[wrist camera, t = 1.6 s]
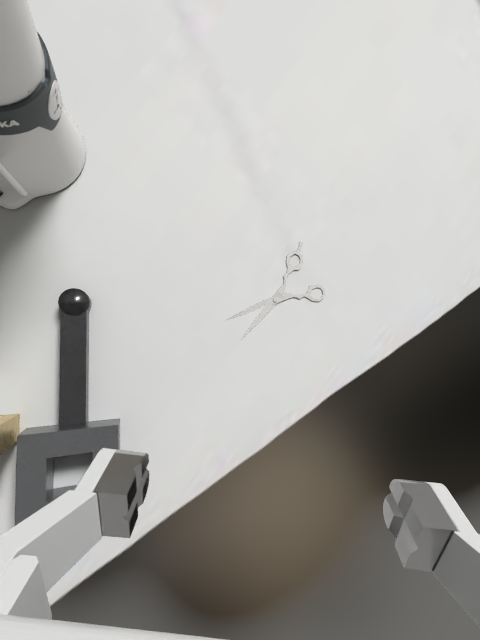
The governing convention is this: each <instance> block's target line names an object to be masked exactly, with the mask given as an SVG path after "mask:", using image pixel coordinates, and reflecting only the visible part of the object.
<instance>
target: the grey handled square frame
mask: <svg viewBox="0 0 480 640" xmlns="http://www.w3.org/2000/svg"><path fill="white" fill-rule="evenodd" d="M58 304H59V307H60V309H61V339H60V410H59V425H52V426H43V427H33V428H27V429H25V430H24V431H23V432H21V433H20V434H19V435H17V461H16V502H15V526H16V525H17V524H19V523H20V522H22V521H23V520H25V519H26V518H28V517H29V516H31V515H32V514H34V513H35V512H37V511H38V510H40V509H41V508H43V507H45V506H46V505H48V504H49V503H51V502H52V501H54V500H55V499H57V498H58V497H60V496H61V495H63V494H64V493H66V492H67V491H69V490H75V488H76V487H77V485H74V486H68V487H62V488H56V489H53V470H54V457H60V456H67V455H75V454H82V453H90V452H93V460H94V458H95V457H96V455H97V453H98V452H99V451H100V450H101V449H102V448H108V449H116V450H120V419H111V420H101V421H91V422H88V364H89V310H90V308H91V300H90V298H89V297H88V295H87V294H86V293H85V292H83V291H82V290H80V289H74V288H73V289H68V290H66V291H64V292H63V293H62V294H61V295H60V297H59V301H58Z"/></svg>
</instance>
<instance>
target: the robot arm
mask: <svg viewBox="0 0 480 640" xmlns="http://www.w3.org/2000/svg"><path fill="white" fill-rule="evenodd" d="M85 158H86V148H85V142H84V139H83V136H82V133H81V131H80V130H79V128H78V126H77V125H76V123H75V122H74V121H73V119H72V118H71V116H70V115H69V113H68V112H67V110H66V108H65V107H64V105H63V103H62V99H61V93H60V88H59V85H58V82H57V79H56V75H55V72H54V69H53V66H52V63H51V60H50V57H49V54H48V51H47V48H46V46H45V44H44V42H43V40H42V38H41V36H40V35H39V33H38V32H37V30H36V27H35V24H34V21H33V18H32V14H31V11H30V8H29V5H28V2H27V0H0V193H3V195H2V196H0V206H2V207H5V208H7V209H17V208H19V207H21V206H23V205H24V204H26V203H27V202H29V201H30V200H31V199H33V198H35V197H39V196H43V195H47V194H51V193H55V192H57V191H60V190H62V189H64V188H65V187H67V186H68V185H70V184H71V183H72V182H73V181H74V180H75V179H76V178H77V177H78V176H79V174H80V172H81V171H82V168H83V166H84V163H85ZM148 463H149V458H148V454H147V453H140V452H133V451H125V450H116V449H108V448H102V449H101V450H100V451H99V452H98V453H97V455H96V457H95V458H94V460H93V461H92V463H91V464H90V466H89V468H88V469H87V471H86V472H85V474H84V475H83V477H82V479H81V480H80V482H79V483H78V485H77V487H76V488H75V490H69V491H67V492H66V493H64V494H63V495H61V496H60V497H58V498H57V499H55V500H54V501H52V502H51V503H49V504H48V505H46V506H45V507H43V508H41V509H40V510H38V511H37V512H35V513H34V514H32V515H31V516H29V517H28V518H26V519H25V520H23V521H22V522H20V523H19V524H17V525H16V526H14V527H13V528H11V529H10V530H8V531H7V532H5V533H4V534H2V535H1V536H0V640H226V639H217V638H208V637H199V636H190V635H181V634H173V633H164V632H155V631H146V630H138V629H128V628H120V627H111V626H102V625H93V624H84V623H76V622H67V621H58V620H51V618H52V615H51V610H50V606H49V602H48V598H47V594H46V592H47V591H48V590H49V589H51V588H52V587H53V586H54V585H55V584H56V583H57V582H58V581H59V580H60V579H61V578H62V577H63V576H64V575H65V574H66V573H67V572H68V571H69V570H70V569H71V568H72V567H73V566H74V565H75V564H76V563H77V562H78V561H79V560H80V559H81V558H82V557H83V556H84V555H85V554H86V553H87V552H88V551H89V550H90V549H91V548H92V547H93V546H94V545H95V544H96V543H97V542H98V541H99V540H100V539H101V538H102V536H111V537H124V538H130V536H131V534H132V531H133V529H134V526H135V523H136V521H137V518H138V507H139V506H140V505H141V504H143V502H144V499H145V496H146V493H147V489H148V484H149V471H148V470H147V469H146V468H147V465H148ZM390 490H391V492H392V493H391V494H389V495H388V496H387V497H386V498H385V501H384V504H383V513H384V518H385V522H386V525H387V527H388V529H389V531H391V533H392V534H393V535H394V536H395V537H396V541H395V544H394V545H395V547H396V550H397V552H398V554H399V557H400V559H401V562H402V564H403V567H404V568H409V569H415V570H423V571H430V572H433V574H434V576H435V577H436V578H437V579H438V580H439V582H440V583H441V584H442V585H443V586H444V587H445V588H446V589H447V591H448V592H449V593H450V594H451V595H452V596H453V598H454V599H455V600H456V601H457V602H458V603H459V604H460V606H461V607H462V608H463V609H464V610H465V611H466V613H467V614H468V615H469V616H470V617H471V618H472V619H473V620H474V622H475V623H476V624H477V625H478V626H479V627H480V534H477V533H476V531H475V530H474V528H473V527H472V525H471V524H470V522H469V521H468V519H467V518H466V516H465V515H464V513H463V512H462V510H461V509H460V507H459V506H458V504H457V503H456V502H455V500H454V498H453V497H452V495H451V494H450V492H449V491H448V489H447V488H446V487H445V486H444V485H443V484H440V483H430V482H429V483H428V482H421V481H410V480H399V479H394V480H393V481H392V482H391V484H390Z"/></svg>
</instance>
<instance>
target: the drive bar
mask: <svg viewBox="0 0 480 640" xmlns="http://www.w3.org/2000/svg"><path fill="white" fill-rule="evenodd" d="M19 420H20V414H10V415H0V454H1V453H3V452H4V451H5V450H6V449H8V448H9V447H10V446H11V445H13V444H14V443H15V442H17V435H19Z"/></svg>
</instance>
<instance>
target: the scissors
mask: <svg viewBox="0 0 480 640" xmlns="http://www.w3.org/2000/svg"><path fill="white" fill-rule="evenodd" d="M302 245H303V242H300V243H299V247H298V249H297V251H293V252H291V253H289V254H288V255H287V257H286V266H287V273H286V274H285V275H284V276H283V278H284V281H283V285H282V286H281V287H280V288H279V289H278V291H277V292H276V293H275V294H274V295H273V296H272V297H271V298H268V299H266V300H264V301H262V302H260V303H257V304H255V305H253V306H251V307H249V308H247V309H246V310H244V311H242V312H240V313H238V314H236V315H234V316H232V317H230V318H229V319H231V318H234V317H237V316H241V315H244V314H247V313H249V312H252V311H254V310H257V309H259V308H261V307H263V306H264V305H266V306H265V307H264V308H263V310H262V311H261V312H260V314H259V315H258V316H257V318H256V319H255V321H254V322H253V323H252V325H251V326H250V328H249V329H248V330H247V332H246V333H245V335H246V334H247V333H248V332H249V331H250V330H251V329H252V328H253V327H254V326H256V325H257V324H258V323H259V322H260V321H261V320H262V319H263V318H264V317H265V316H266V315H267V314H268V312H269V311H270V310H271V309H272V308H273V307H274V306H275V305H276V304H277V303H279V302H281V301H284V300H286V299H289V298H292V297H296V298H298V299H300V298H302V297H306V298H308V299H309V300H311V301H315V302H317V301H321V300H322V299H323V298H324V296H325V289H324V288H323V287H322V286H320V285H312V286H309V288H308V291H307V293H304V294H303V295H293V294H290V293H284V291H285V286H286V280H287V277H288V275H289V273H290V272H292V271H293V270H299V269H300V268H301V266H302V263H303V258H302V256H301V254H300V250H301V247H302ZM293 254H296V255H298V256H299V258H300V263H299V265H298V266H296V267H291V265H290V264H289V258H290V256H292V255H293ZM314 288H320V289H321V291H322V297H321V298H319V299H313V298H312V297H311V295H310V292H311V290H312V289H314ZM227 320H228V319H227ZM245 335H244V336H245ZM244 336H243V337H244ZM243 337H242V338H243Z"/></svg>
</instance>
